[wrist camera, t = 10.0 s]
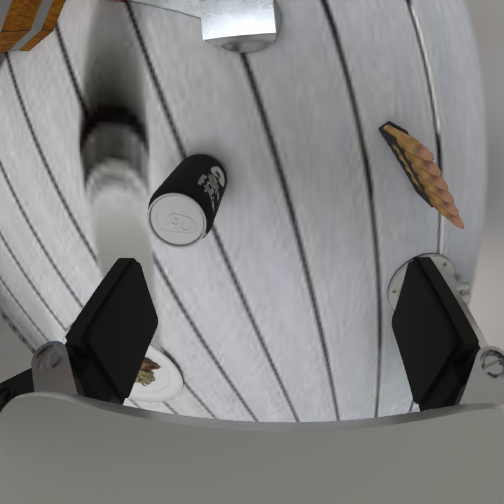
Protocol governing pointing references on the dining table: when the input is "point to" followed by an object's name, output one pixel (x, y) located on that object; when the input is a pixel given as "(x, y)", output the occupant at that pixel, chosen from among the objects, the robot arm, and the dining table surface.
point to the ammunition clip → (421, 171)
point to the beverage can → (187, 202)
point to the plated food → (155, 378)
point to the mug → (26, 22)
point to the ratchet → (188, 4)
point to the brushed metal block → (237, 21)
